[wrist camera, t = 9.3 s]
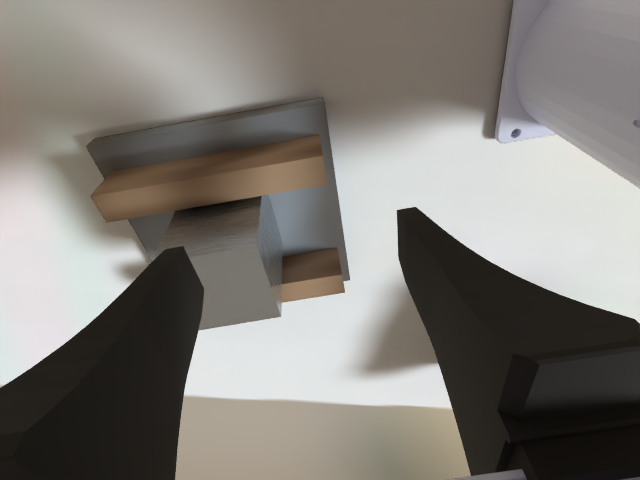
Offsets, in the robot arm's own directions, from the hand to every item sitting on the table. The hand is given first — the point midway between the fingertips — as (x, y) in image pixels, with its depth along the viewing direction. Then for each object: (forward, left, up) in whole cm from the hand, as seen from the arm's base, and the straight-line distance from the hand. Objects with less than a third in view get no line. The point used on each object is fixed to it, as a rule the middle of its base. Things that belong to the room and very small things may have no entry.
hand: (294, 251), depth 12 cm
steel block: (+4, +4, -8) cm, 10 cm away
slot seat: (+4, +4, -9) cm, 11 cm away
